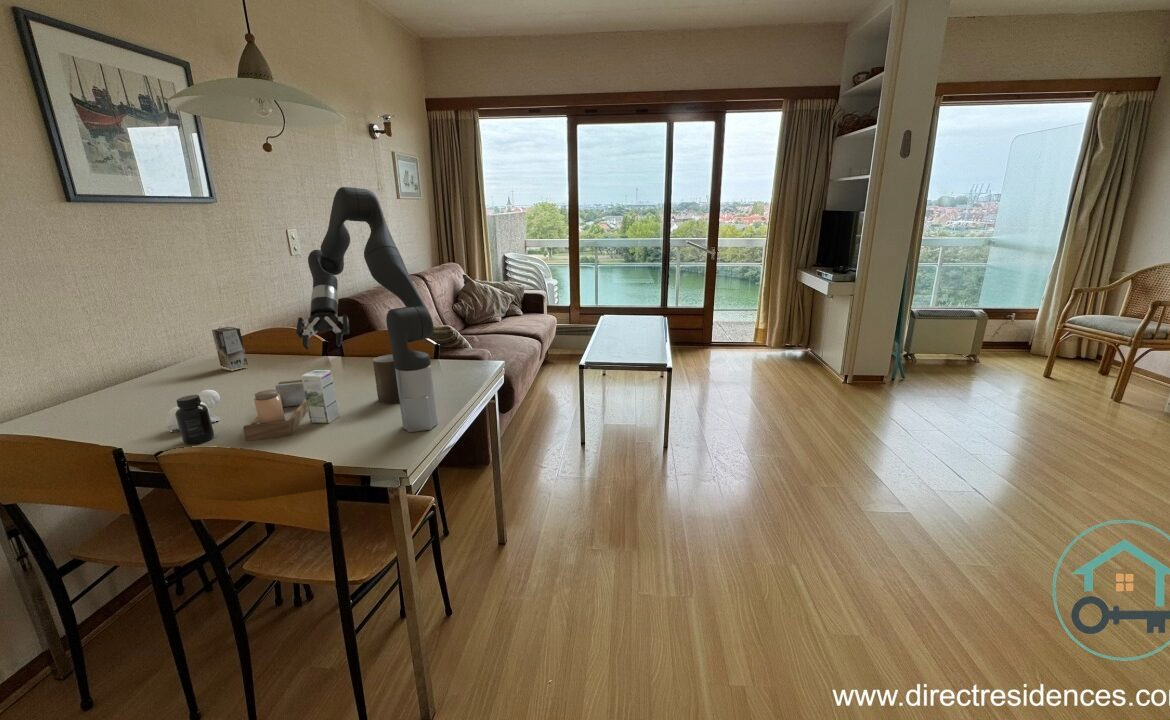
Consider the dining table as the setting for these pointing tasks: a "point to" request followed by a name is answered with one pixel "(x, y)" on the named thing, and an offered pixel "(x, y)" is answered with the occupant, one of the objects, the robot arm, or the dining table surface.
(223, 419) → the dining table surface
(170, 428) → the white rounded figurine
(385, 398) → the pillar candle
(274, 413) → the jar
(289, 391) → the grey box
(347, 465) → the dining table surface
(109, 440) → the dining table surface
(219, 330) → the coffee box
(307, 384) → the syrup box
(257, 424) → the wooden tray
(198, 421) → the supplement bottle
